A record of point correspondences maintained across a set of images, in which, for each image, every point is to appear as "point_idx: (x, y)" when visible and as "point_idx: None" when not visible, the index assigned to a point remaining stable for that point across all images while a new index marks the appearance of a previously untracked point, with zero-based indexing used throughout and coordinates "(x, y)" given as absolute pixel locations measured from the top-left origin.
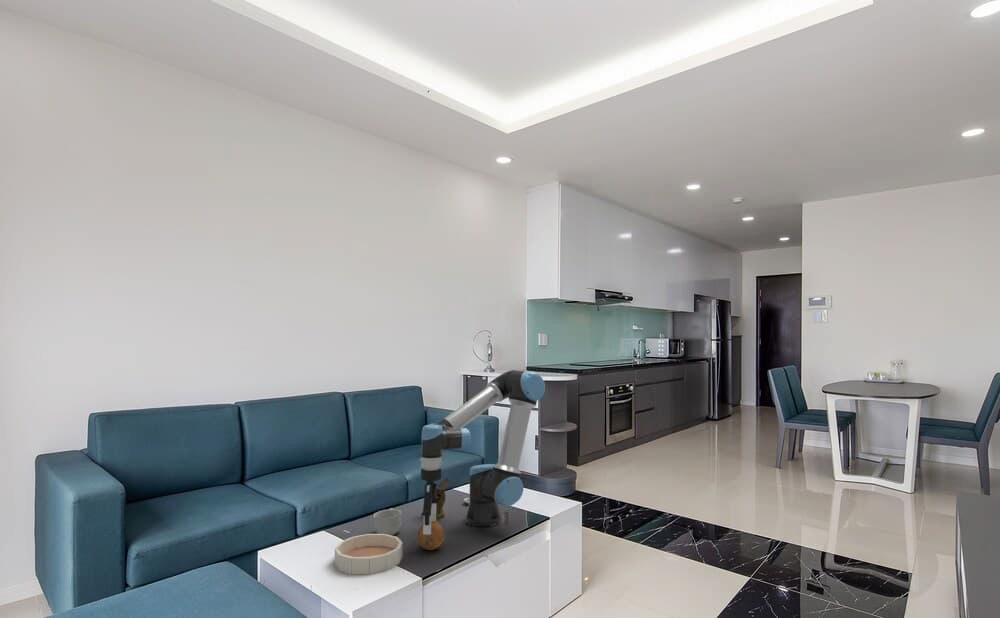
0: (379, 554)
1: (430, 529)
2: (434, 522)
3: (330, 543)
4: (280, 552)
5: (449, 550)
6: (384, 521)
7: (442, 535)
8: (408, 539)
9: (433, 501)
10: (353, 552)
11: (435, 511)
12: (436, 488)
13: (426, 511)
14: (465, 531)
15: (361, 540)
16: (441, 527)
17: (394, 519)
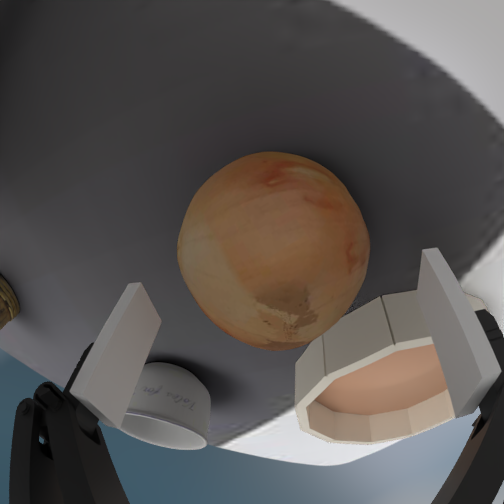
0: (381, 360)
1: (452, 273)
2: (288, 290)
3: (282, 437)
4: (336, 459)
5: (274, 96)
6: (204, 428)
7: (295, 164)
8: (191, 321)
9: (80, 421)
10: (359, 405)
11: (111, 342)
12: (13, 501)
13: (5, 319)
14: (18, 126)
15: (322, 422)
16: (257, 205)
17: (177, 415)
